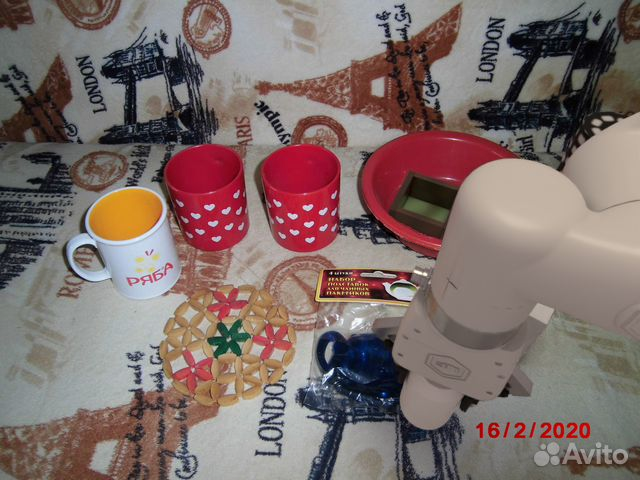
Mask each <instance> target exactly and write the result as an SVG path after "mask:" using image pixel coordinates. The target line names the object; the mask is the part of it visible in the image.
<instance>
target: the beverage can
mask: <svg viewBox="0 0 640 480" xmlns="http://www.w3.org/2000/svg"><path fill="white" fill-rule="evenodd" d="M399 395H400V396H399V406H400V410H401V413H402V414H403V416H404V418H405V419H406V420H407V421H408V422H409V423H410V424H411V425H413V426H414V427H416V428H419V429H420V430H426V431H433V430H437V429H439V428H441V427H443V426H444V425H445V424H447V422H448V421H450V418H451V417H452V415H454V413H455V411H456V409H457V408H458V406H460V403H461V400H462V399H463V397H464V396H465V394H462V393H460V392H457V391H455V390H453V389H450V388H448V387H446V386H443V385H441V384H439V383H437V382H434V381H432V380H430V379H428V378H425V377H423V376H421V375H419V374H416V373H414V372H412V371H410V370H408V373H407V375H406V378H405V381H404V383H403V385H402V388H401V391H400V394H399Z"/></svg>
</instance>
